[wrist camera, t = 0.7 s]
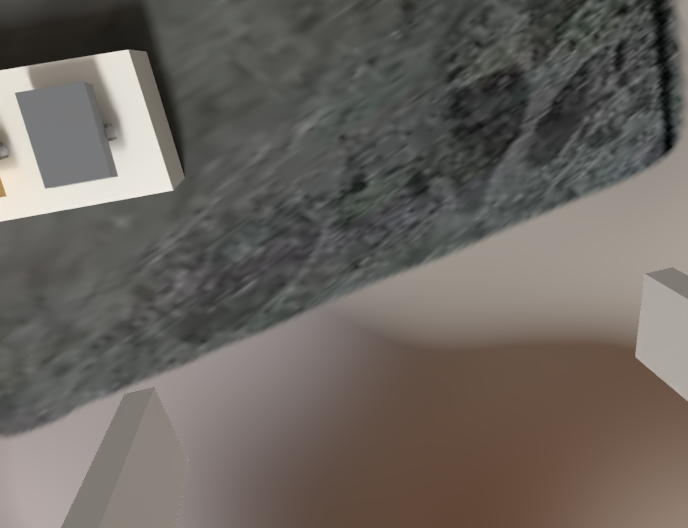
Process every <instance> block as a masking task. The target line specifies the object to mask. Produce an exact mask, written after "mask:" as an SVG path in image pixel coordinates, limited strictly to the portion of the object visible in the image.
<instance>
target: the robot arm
mask: <svg viewBox="0 0 688 528" xmlns="http://www.w3.org/2000/svg"><path fill="white" fill-rule="evenodd" d="M635 357H636V358H637V359H638V360H640V361H641V362H642V363H643V364H644V365H646V366H647V367H648V368H649V369H650V370H651V371H653V372H654V373H655V374H656V375H657V376H659V377H660V378H661V379H662V380H663V381H664V382H666V383H667V384H668V385H669V386H670V387H672V388H673V389H674V390H675V391H676V392H678V393H679V394H680V395H681V396H682V397H684V398H685V399H686V400H687V401H688V276H687V275H685V274H684V273H682V272H680V271H678V270H676V269H674V268H668V269H664V270H659V271H655V272H651V273H647V274H645V279H644V286H643V296H642V303H641V313H640V320H639V329H638V337H637V346H636V354H635ZM189 465H190V461H189V459H188V457H187V455H186V453H185V451H184V449H183V446H182V444H181V442H180V440H179V438H178V436H177V434H176V432H175V430H174V428H173V425H172V423H171V421H170V419H169V417H168V415H167V413H166V411H165V409H164V407H163V405H162V402H161V400H160V398H159V396H158V394H157V392H156V390H155V388H154V387H153V388H149V389H145V390H141V391H136V392H132V393H128V394H124V396H123V398H122V400H121V403H120V405H119V407H118V409H117V411H116V413H115V415H114V417H113V419H112V422H111V424H110V426H109V428H108V430H107V432H106V434H105V436H104V438H103V441H102V443H101V445H100V447H99V449H98V451H97V453H96V455H95V457H94V460H93V462H92V464H91V466H90V468H89V470H88V472H87V474H86V476H85V478H84V481H83V483H82V485H81V487H80V489H79V491H78V493H77V496H76V497H75V500H74V502H73V504H72V506H71V508H70V510H69V512H68V514H67V516H66V518H65V521H64V523H63V525H62V527H61V528H175V526H176V522H177V517H178V513H179V508H180V504H181V500H182V496H183V491H184V487H185V482H186V478H187V474H188V469H189Z"/></svg>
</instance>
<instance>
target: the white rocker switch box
mask: <svg viewBox="0 0 688 528" xmlns="http://www.w3.org/2000/svg"><path fill="white" fill-rule="evenodd" d="M83 81H84V82H87V83H89V84H91V85H93V88H94V92H95V96H96V99H97V103H98V106H99V110H100V113H101V117H102V120H103V124H104V128H105V131H106V135H107V138H108V142H109V145H110V149H111V153H112V156H113V160H114V163H115V167H116V170H117V174H118V177H113V178H108V179H102V180H97V181H91V182H85V183H80V184H74V185H68V186H63V187H57V188H46V189H45V187H44V183H43V180H42V177H41V174H40V171H39V168H38V165H37V161H36V158H35V155H34V152H33V149H32V146H31V143H30V139H29V136H28V133H27V130H26V127H25V124H24V120H23V117H22V114H21V111H20V108H19V105H18V102H17V98H16V95H15V93H17V92H23V91H29V90H35V89H41V88H47V87H53V86H59V85H65V84H71V83H77V82H83ZM0 178H1V181H2V184H3V187H4V190H5V193H6V197H0V221H6V220H12V219H17V218H23V217H28V216H34V215H39V214H45V213H51V212H56V211H62V210H67V209H73V208H78V207H84V206H90V205H95V204H101V203H106V202H112V201H117V200H123V199H129V198H134V197H140V196H145V195H151V194H156V193H162V192H168V191H173V190H174V189H175V188H176V187H177V186H178V185H179V184H180V182H181V181H182V180H183V179H184V178H185V177H184V173H183V170H182V167H181V164H180V160H179V157H178V154H177V151H176V147H175V144H174V141H173V137H172V134H171V131H170V128H169V124H168V121H167V118H166V114H165V111H164V108H163V105H162V101H161V98H160V95H159V91H158V88H157V85H156V82H155V78H154V75H153V72H152V68H151V65H150V62H149V59H148V55H147V52H146V51H137V50H129V49H128V50H122V51H116V52H110V53H103V54H97V55H91V56H85V57H79V58H73V59H67V60H60V61H54V62H48V63H42V64H36V65H30V66H24V67H17V68H11V69H5V70H0Z"/></svg>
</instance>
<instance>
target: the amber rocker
mask: <svg viewBox="0 0 688 528" xmlns="http://www.w3.org/2000/svg"><path fill="white" fill-rule="evenodd" d="M0 197H6V193H5V190H4V187H3V184H2V181H1V178H0Z"/></svg>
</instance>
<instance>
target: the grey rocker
mask: <svg viewBox="0 0 688 528" xmlns="http://www.w3.org/2000/svg"><path fill="white" fill-rule="evenodd" d="M15 95H16V98H17V102H18V105H19V108H20V111H21V114H22V117H23V120H24V124H25V127H26V130H27V133H28V136H29V139H30V143H31V146H32V149H33V152H34V155H35V158H36V161H37V165H38V168H39V171H40V174H41V177H42V180H43V183H44V187H45V189H46V188H57V187H63V186H68V185H74V184H80V183H85V182H91V181H97V180H102V179H108V178H113V177H118V174H117V170H116V167H115V163H114V160H113V156H112V153H111V149H110V145H109V142H108V138H107V135H106V131H105V128H104V124H103V120H102V117H101V113H100V110H99V106H98V103H97V99H96V96H95V92H94V88H93V85H91V84H89V83H87V82H84V81H83V82H77V83H71V84H65V85H59V86H53V87H47V88H41V89H35V90H29V91H23V92H17V93H15Z"/></svg>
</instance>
